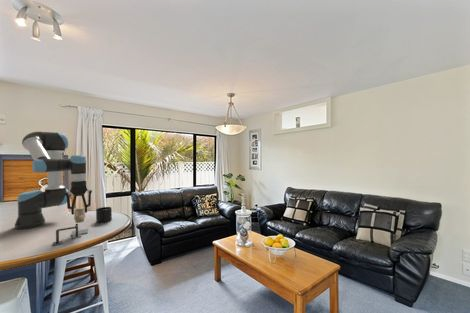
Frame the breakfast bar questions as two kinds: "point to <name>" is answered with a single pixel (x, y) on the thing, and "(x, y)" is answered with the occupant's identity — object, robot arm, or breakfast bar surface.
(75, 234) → the coaster
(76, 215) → the beech peg
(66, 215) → the breakfast bar surface
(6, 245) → the breakfast bar surface
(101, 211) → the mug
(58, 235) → the wire
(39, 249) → the breakfast bar surface
